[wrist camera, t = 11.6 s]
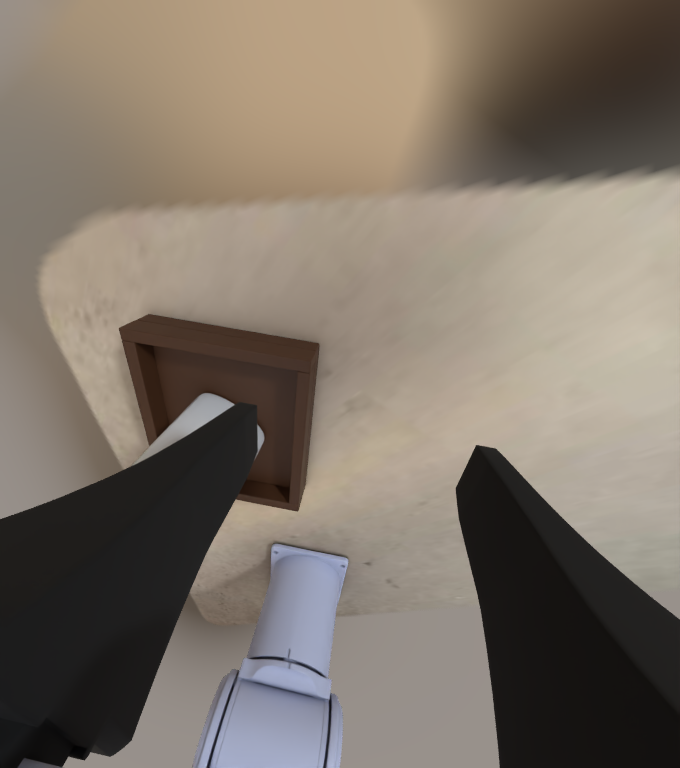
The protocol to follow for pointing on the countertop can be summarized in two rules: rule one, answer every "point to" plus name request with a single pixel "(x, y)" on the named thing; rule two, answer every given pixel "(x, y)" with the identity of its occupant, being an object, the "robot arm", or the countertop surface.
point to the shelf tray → (230, 391)
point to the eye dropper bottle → (193, 423)
